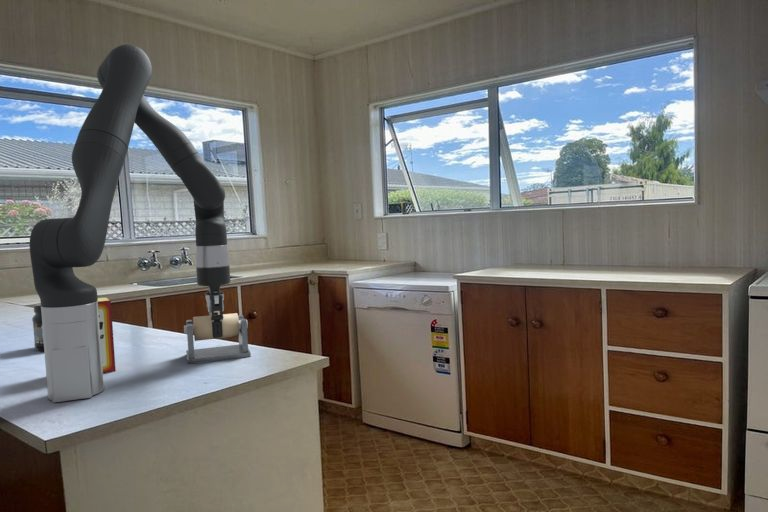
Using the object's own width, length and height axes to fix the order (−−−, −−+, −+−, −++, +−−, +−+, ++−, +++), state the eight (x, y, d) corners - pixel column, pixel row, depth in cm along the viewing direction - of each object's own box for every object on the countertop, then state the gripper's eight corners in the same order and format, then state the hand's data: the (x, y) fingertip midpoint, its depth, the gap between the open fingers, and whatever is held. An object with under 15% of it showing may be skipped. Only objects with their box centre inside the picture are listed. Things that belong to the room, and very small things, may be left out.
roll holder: (250, 356, 126) (248, 320, 125) (187, 364, 121) (185, 326, 120) (245, 347, 135) (243, 314, 135) (186, 354, 130) (184, 319, 130)
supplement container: (73, 341, 151) (70, 299, 151) (85, 346, 144) (82, 302, 143) (30, 348, 144) (26, 304, 143) (40, 354, 137) (36, 307, 136)
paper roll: (246, 333, 133) (245, 310, 133) (249, 337, 128) (247, 313, 127) (184, 339, 128) (183, 316, 128) (184, 343, 123) (183, 319, 122)
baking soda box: (112, 365, 123) (107, 295, 122) (115, 371, 117) (110, 298, 116) (64, 372, 118) (59, 300, 117) (65, 379, 112) (59, 303, 111)
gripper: (232, 265, 121) (236, 339, 122) (226, 262, 135) (230, 328, 136) (197, 267, 119) (201, 342, 120) (195, 263, 132) (198, 331, 133)
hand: (216, 334), depth 128 cm, fingers open, 5 cm apart
